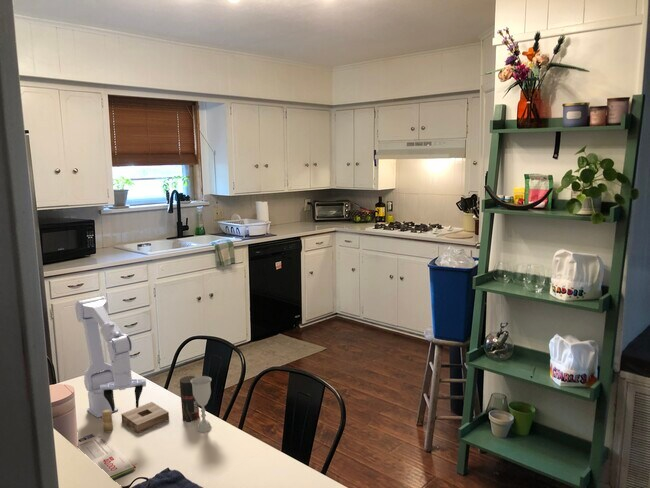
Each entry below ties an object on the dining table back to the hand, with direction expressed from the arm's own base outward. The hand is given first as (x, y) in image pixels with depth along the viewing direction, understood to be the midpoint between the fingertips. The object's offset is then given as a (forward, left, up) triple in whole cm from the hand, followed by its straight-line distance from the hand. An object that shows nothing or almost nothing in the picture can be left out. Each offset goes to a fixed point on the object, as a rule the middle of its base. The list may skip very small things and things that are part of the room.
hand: (125, 408), depth 180 cm
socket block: (-4, +9, -10) cm, 14 cm away
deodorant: (+7, +21, -10) cm, 24 cm away
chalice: (+17, +20, -10) cm, 28 cm away
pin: (-8, -3, -10) cm, 13 cm away
